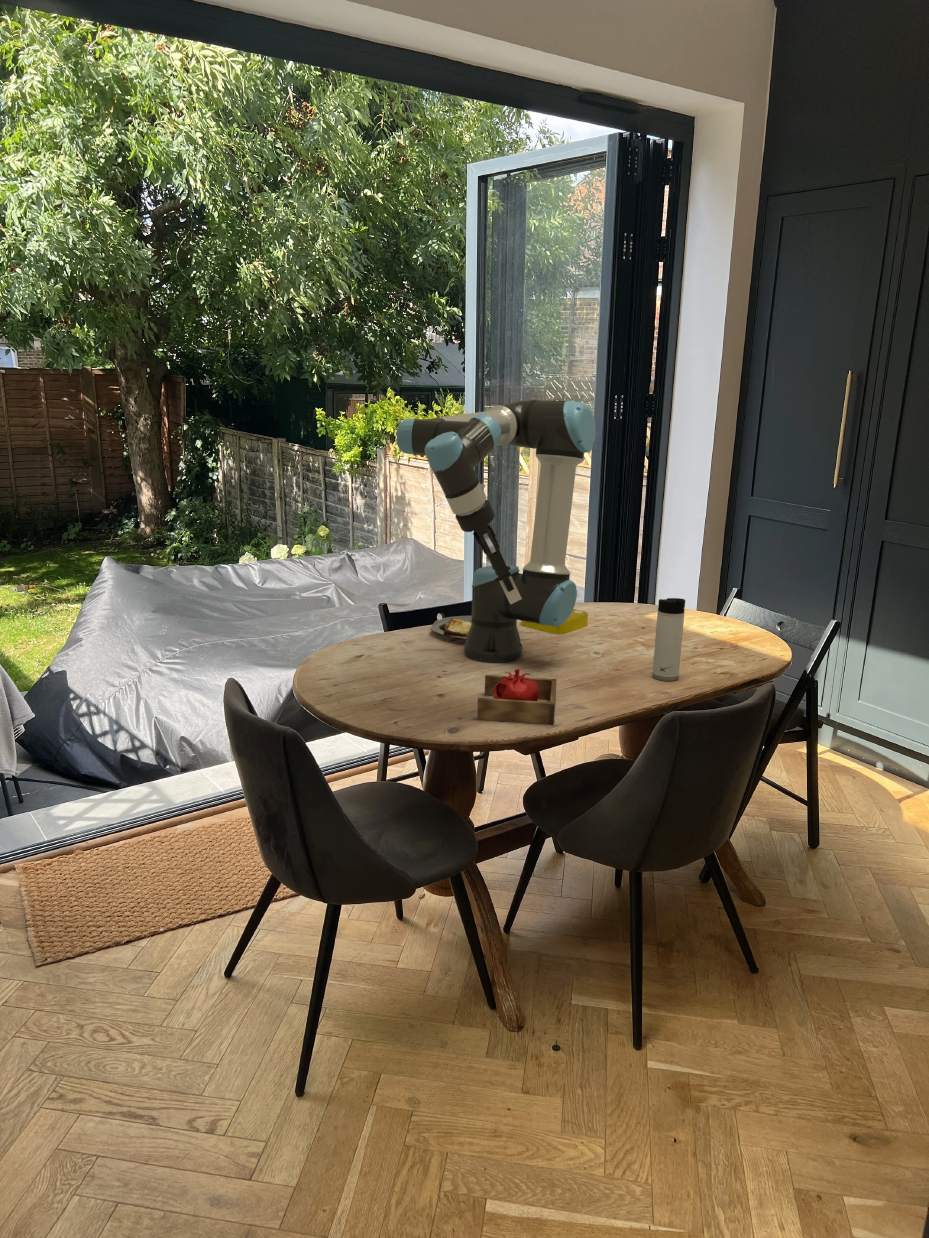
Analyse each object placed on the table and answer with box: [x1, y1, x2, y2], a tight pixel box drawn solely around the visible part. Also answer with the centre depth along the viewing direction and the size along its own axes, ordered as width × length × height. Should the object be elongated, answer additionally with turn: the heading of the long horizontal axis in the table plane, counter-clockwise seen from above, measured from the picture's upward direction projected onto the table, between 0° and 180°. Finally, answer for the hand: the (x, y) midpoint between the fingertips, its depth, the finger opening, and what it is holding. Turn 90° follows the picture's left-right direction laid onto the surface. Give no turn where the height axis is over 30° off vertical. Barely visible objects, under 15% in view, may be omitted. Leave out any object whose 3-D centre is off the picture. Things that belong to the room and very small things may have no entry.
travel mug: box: [651, 597, 686, 682], centre depth 212 cm, size 6×7×20 cm
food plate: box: [430, 615, 472, 641], centre depth 248 cm, size 25×23×4 cm
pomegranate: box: [493, 668, 539, 701], centre depth 191 cm, size 10×10×9 cm
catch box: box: [476, 674, 557, 725], centre depth 192 cm, size 16×16×4 cm
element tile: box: [521, 608, 589, 636], centre depth 258 cm, size 15×15×5 cm
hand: (515, 600), depth 190 cm, fingers closed
